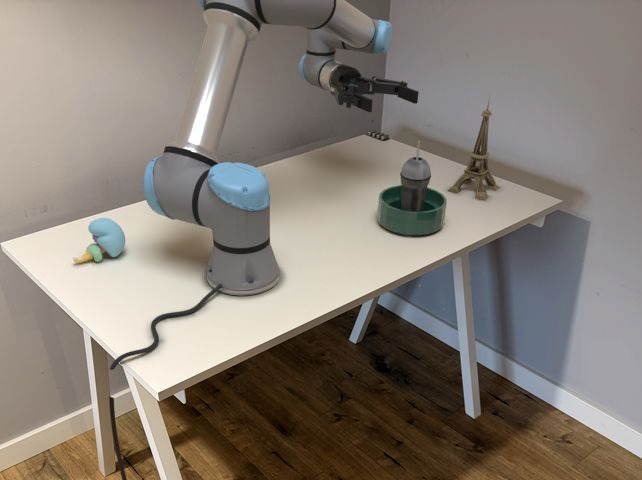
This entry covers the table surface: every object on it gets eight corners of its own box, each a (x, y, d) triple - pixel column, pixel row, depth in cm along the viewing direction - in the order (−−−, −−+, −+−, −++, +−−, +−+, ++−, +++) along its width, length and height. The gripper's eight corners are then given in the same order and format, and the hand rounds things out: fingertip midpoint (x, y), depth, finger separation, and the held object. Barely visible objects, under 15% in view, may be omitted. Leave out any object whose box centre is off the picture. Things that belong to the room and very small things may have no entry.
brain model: (58, 225, 143) (110, 207, 149) (69, 261, 149) (119, 243, 154) (71, 238, 139) (125, 219, 144) (82, 274, 144) (133, 255, 150)
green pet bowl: (430, 243, 157) (433, 218, 153) (367, 228, 163) (368, 203, 159) (451, 217, 169) (455, 192, 165) (391, 204, 174) (393, 180, 170)
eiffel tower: (499, 187, 184) (517, 93, 169) (484, 200, 177) (502, 103, 162) (463, 178, 189) (478, 85, 174) (447, 191, 182) (461, 95, 167)
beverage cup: (427, 215, 167) (437, 135, 155) (423, 228, 162) (433, 146, 150) (398, 211, 169) (406, 132, 157) (393, 224, 163) (401, 142, 151)
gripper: (379, 88, 178) (432, 110, 164) (299, 102, 167) (349, 126, 153) (381, 58, 174) (437, 78, 160) (299, 70, 163) (351, 92, 149)
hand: (394, 101), depth 156 cm, fingers open, 13 cm apart
